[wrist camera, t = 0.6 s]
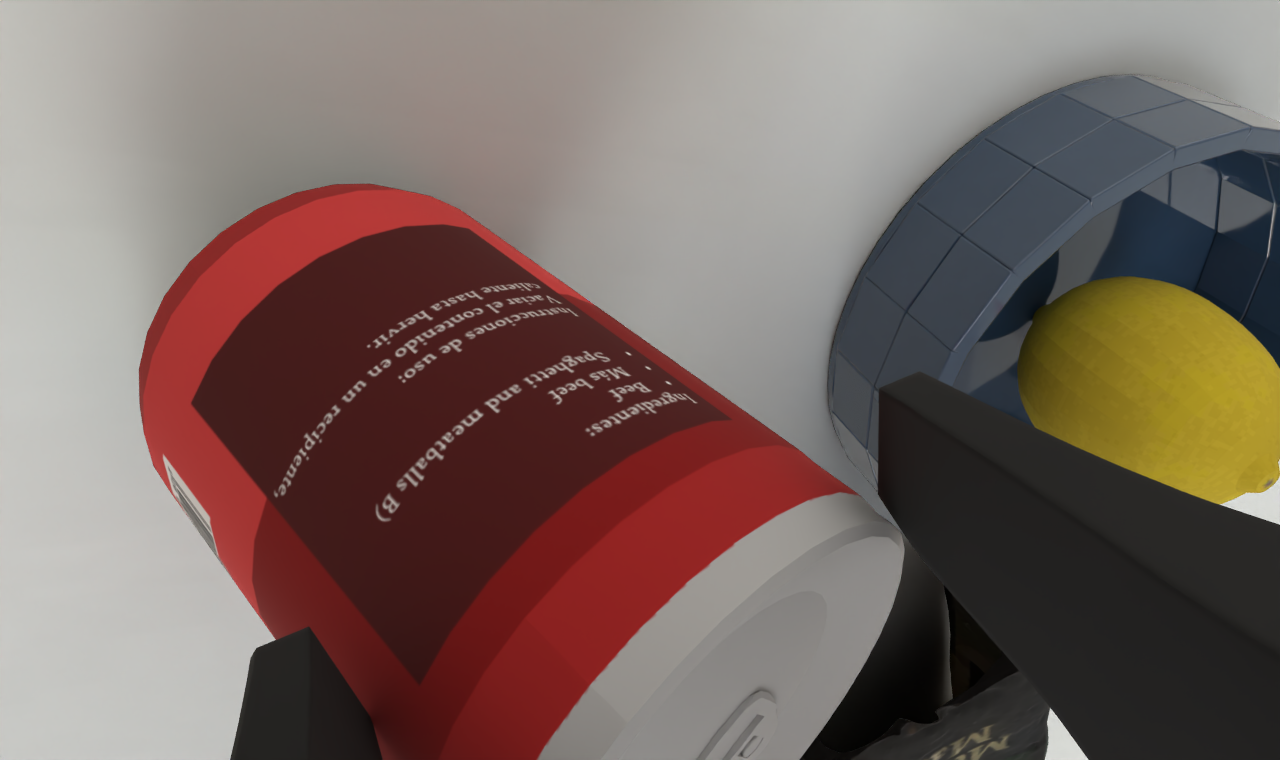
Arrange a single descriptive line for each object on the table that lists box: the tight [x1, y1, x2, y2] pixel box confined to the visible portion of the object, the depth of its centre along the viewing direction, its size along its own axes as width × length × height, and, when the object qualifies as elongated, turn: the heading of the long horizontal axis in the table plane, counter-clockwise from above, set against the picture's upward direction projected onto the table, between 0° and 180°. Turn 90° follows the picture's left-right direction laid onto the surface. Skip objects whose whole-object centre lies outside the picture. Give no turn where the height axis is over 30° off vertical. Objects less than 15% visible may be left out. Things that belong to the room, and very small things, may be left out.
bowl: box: [828, 74, 1280, 492], centre depth 27 cm, size 14×14×4 cm
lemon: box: [1017, 276, 1280, 504], centre depth 25 cm, size 6×6×8 cm
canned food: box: [139, 184, 905, 760], centre depth 16 cm, size 8×8×11 cm
